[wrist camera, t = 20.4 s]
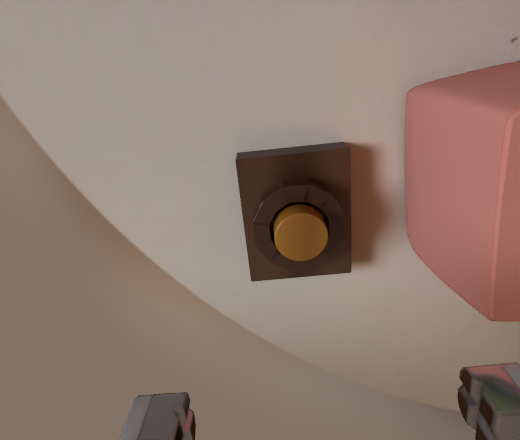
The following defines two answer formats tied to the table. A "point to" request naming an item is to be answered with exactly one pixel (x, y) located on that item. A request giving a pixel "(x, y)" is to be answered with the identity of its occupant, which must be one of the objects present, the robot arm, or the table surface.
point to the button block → (292, 193)
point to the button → (300, 232)
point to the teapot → (467, 185)
